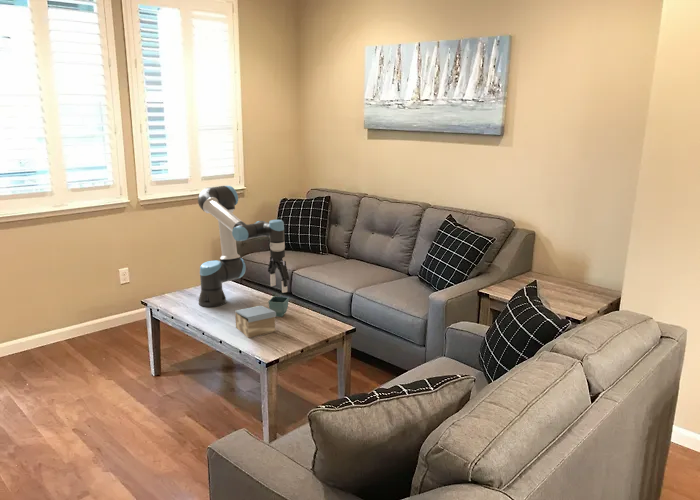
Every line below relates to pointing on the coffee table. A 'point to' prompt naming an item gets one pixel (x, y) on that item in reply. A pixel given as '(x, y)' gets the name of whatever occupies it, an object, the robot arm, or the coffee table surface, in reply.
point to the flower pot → (279, 305)
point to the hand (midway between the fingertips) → (278, 288)
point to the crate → (255, 326)
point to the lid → (256, 313)
